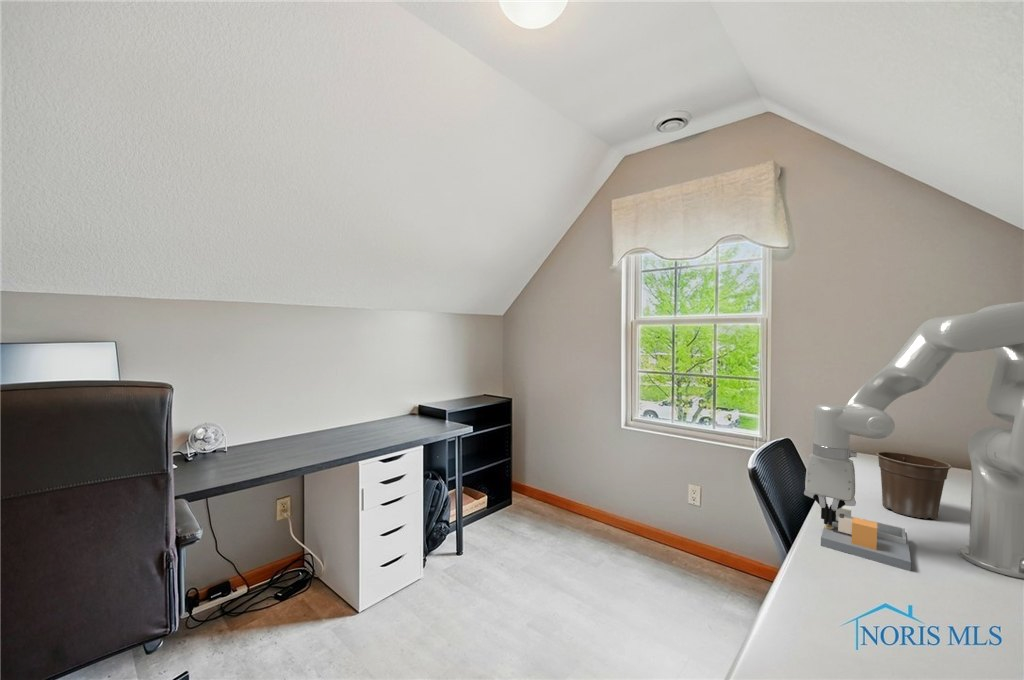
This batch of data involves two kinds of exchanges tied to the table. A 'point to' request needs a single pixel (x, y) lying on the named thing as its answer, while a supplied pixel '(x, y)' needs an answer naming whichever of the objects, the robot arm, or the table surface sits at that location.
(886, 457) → the plant pot
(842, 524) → the cube with dark stripe
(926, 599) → the table surface
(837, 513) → the toggle
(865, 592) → the table surface
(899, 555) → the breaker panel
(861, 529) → the cap
